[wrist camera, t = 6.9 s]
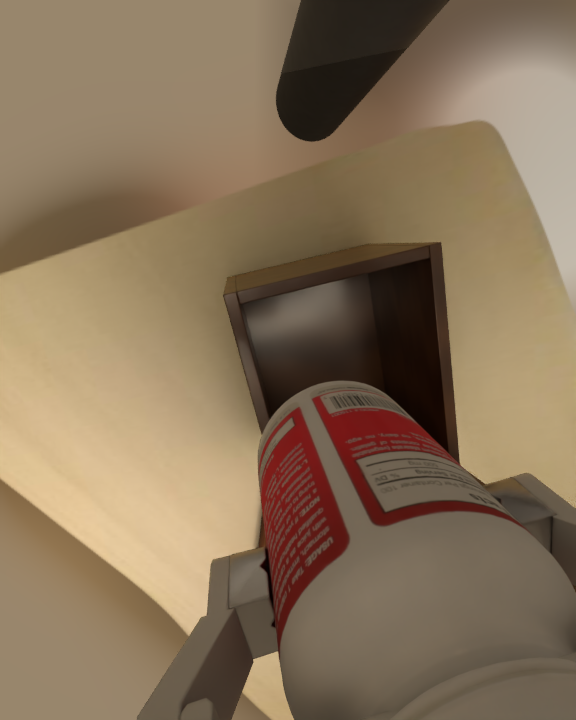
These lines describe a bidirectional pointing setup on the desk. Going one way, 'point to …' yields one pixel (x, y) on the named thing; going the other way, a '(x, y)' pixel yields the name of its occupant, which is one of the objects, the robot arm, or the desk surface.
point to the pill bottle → (403, 573)
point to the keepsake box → (350, 330)
